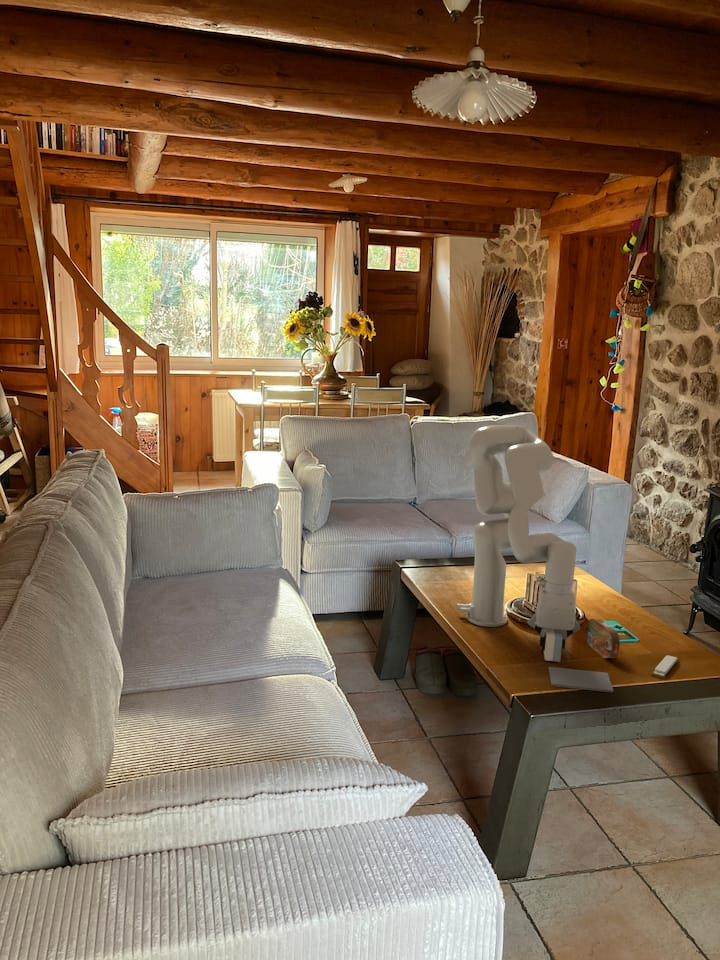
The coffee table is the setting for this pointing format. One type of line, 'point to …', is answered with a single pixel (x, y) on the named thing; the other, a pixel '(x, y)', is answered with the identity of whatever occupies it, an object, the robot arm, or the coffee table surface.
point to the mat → (580, 679)
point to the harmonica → (665, 666)
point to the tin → (602, 638)
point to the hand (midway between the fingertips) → (551, 649)
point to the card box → (553, 645)
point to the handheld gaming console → (621, 629)
